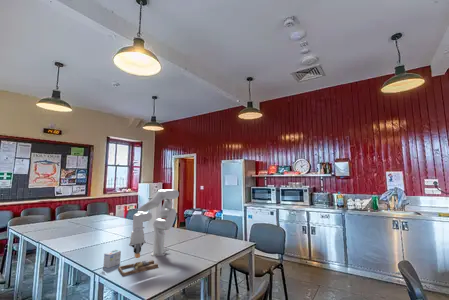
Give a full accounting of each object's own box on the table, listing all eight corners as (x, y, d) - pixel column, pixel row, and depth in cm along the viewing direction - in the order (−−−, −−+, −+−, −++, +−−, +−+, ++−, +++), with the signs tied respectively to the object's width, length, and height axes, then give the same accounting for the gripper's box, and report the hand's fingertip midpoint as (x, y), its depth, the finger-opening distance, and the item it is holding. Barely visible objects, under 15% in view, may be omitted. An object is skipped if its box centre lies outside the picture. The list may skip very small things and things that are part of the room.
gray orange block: (138, 255, 186) (138, 241, 186) (140, 257, 182) (140, 243, 183) (134, 256, 184) (134, 242, 185) (136, 258, 180) (136, 244, 181)
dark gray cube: (147, 265, 177) (147, 260, 177) (148, 267, 173) (149, 261, 174) (141, 266, 174) (142, 261, 175) (143, 268, 171) (143, 262, 172)
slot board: (152, 263, 184) (152, 259, 184) (158, 268, 173) (158, 264, 173) (118, 270, 169) (118, 266, 169) (122, 277, 157) (122, 272, 158)
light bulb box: (114, 263, 183) (115, 249, 184) (120, 264, 180) (121, 250, 182) (102, 268, 173) (103, 253, 175) (109, 269, 171) (110, 254, 172)
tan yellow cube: (140, 267, 173) (140, 261, 174) (142, 268, 171) (142, 263, 171) (135, 268, 171) (135, 262, 171) (137, 270, 168) (137, 264, 168)
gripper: (146, 226, 192) (145, 248, 191) (126, 229, 183) (125, 253, 181) (149, 228, 186) (148, 251, 185) (128, 232, 177) (127, 256, 175)
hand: (137, 252), depth 183 cm, fingers closed on gray orange block, 2 cm apart
